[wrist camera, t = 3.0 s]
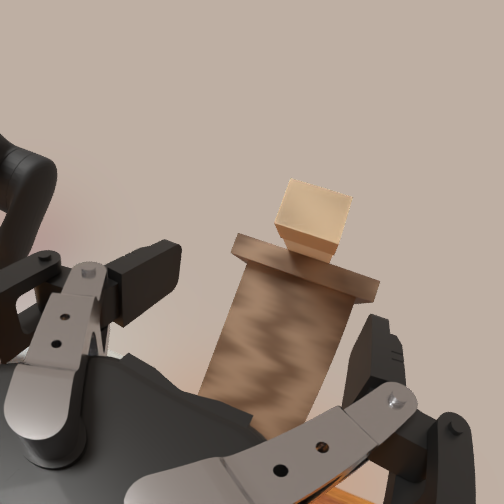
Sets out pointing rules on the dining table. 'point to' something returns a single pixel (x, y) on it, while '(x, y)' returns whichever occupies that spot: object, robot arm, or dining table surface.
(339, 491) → the dining table surface
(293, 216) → the cream wooden bar
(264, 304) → the walnut pedestal
